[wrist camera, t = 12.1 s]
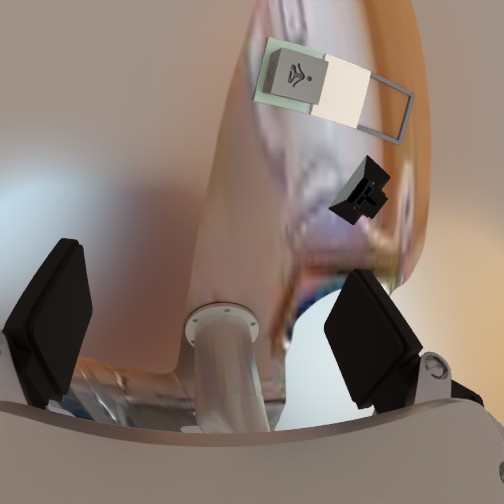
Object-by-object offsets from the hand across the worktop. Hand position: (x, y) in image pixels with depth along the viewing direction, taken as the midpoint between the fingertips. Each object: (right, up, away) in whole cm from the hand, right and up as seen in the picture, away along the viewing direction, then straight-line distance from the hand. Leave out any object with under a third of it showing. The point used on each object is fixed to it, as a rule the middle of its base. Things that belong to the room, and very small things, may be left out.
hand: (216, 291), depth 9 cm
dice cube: (+5, +21, +18) cm, 28 cm away
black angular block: (+16, +10, +29) cm, 35 cm away
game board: (+12, +21, +20) cm, 31 cm away
